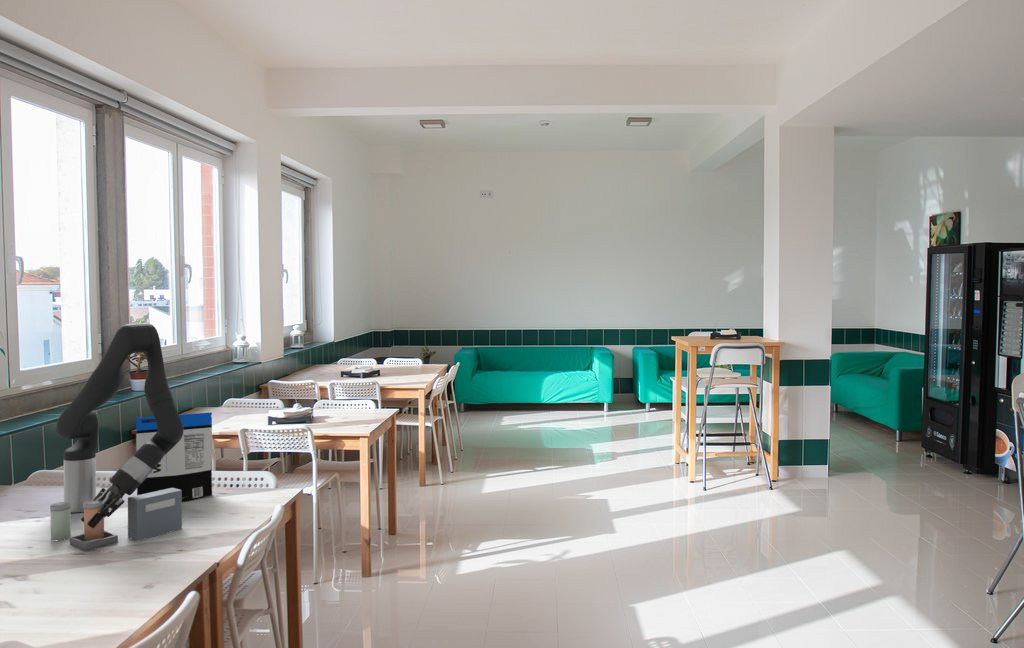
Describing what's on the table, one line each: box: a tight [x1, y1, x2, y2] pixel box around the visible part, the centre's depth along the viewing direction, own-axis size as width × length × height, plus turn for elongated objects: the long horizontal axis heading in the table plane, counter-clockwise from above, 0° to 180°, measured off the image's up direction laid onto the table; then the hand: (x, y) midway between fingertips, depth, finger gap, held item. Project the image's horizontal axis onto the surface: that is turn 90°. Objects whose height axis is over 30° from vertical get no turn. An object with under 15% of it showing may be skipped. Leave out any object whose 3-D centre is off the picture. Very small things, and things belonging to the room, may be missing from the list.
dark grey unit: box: [127, 488, 183, 542], centre depth 221 cm, size 6×14×12 cm, turn 146°
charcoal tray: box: [69, 529, 119, 552], centre depth 211 cm, size 9×9×2 cm
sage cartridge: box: [49, 501, 72, 541], centre depth 215 cm, size 5×5×10 cm
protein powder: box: [135, 412, 213, 503], centre depth 257 cm, size 10×24×30 cm, turn 123°
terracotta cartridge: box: [83, 500, 105, 540], centre depth 211 cm, size 5×5×10 cm
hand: (86, 524), depth 209 cm, fingers closed on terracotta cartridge, 5 cm apart
